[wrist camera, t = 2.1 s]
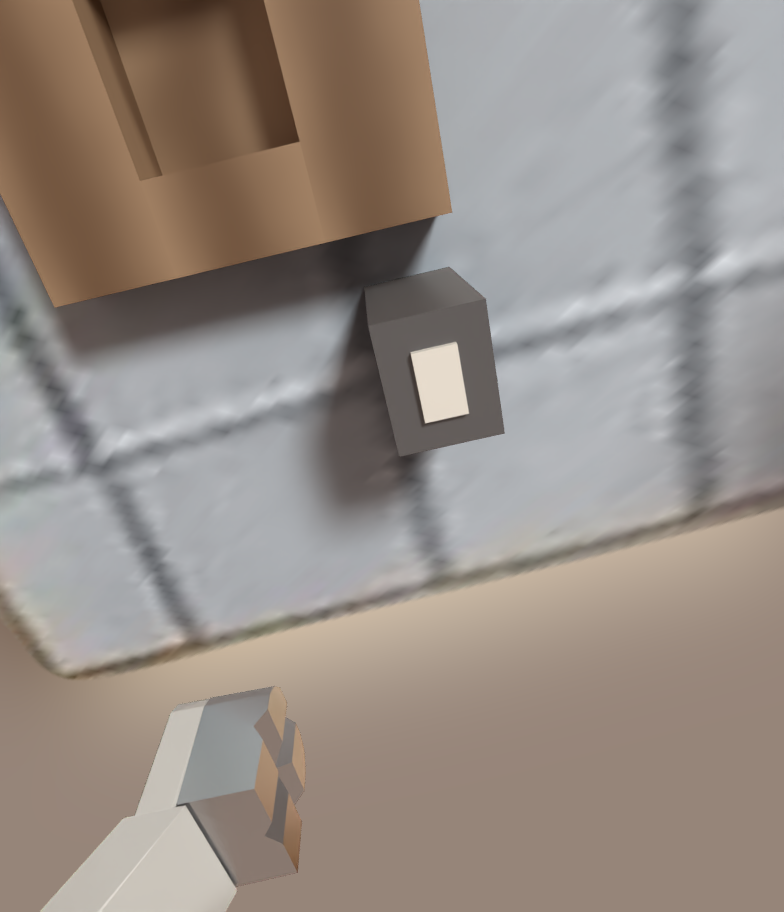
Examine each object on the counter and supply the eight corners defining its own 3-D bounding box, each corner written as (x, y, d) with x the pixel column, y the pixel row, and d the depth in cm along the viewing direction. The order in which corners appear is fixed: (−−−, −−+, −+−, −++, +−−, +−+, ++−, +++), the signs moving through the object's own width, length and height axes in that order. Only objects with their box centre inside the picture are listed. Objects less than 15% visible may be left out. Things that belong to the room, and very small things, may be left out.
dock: (365, -243, 19) (367, -329, 16) (439, 208, 25) (452, 212, 22) (-90, -118, 19) (-177, -176, 16) (91, 292, 25) (54, 307, 22)
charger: (449, 266, 26) (487, 300, 18) (466, 369, 28) (506, 436, 21) (364, 286, 26) (368, 327, 19) (387, 387, 28) (399, 459, 21)
